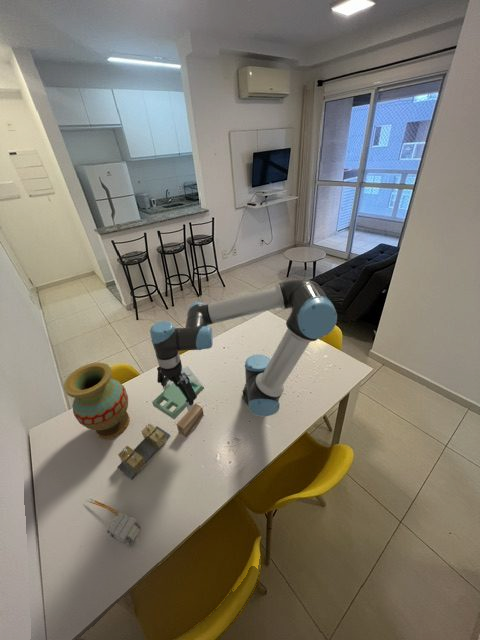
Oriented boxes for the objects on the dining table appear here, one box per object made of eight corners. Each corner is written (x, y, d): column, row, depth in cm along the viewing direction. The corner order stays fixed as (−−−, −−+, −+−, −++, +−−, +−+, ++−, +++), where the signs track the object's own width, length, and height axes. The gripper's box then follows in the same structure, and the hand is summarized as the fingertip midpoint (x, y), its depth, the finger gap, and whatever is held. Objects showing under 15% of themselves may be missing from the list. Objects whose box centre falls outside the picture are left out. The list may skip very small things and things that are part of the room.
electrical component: (81, 520, 88) (73, 513, 85) (95, 501, 92) (88, 494, 90) (132, 548, 78) (125, 541, 75) (145, 525, 82) (138, 518, 80)
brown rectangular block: (203, 415, 116) (202, 407, 112) (185, 437, 108) (183, 428, 104) (197, 411, 118) (195, 403, 114) (178, 432, 110) (176, 424, 106)
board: (202, 389, 104) (201, 385, 102) (174, 419, 93) (173, 415, 92) (182, 378, 109) (181, 374, 108) (153, 406, 98) (152, 401, 97)
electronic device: (161, 378, 133) (187, 365, 140) (162, 381, 135) (188, 368, 142) (175, 401, 121) (203, 386, 128) (176, 404, 122) (204, 389, 129)
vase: (145, 411, 119) (126, 364, 102) (116, 452, 104) (87, 405, 86) (111, 401, 125) (88, 355, 107) (78, 438, 109) (45, 391, 92)
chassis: (171, 436, 108) (167, 425, 104) (132, 480, 94) (126, 470, 90) (156, 426, 112) (152, 415, 108) (117, 467, 99) (110, 456, 94)
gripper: (202, 367, 87) (208, 408, 100) (154, 344, 98) (165, 383, 110) (187, 382, 82) (196, 423, 95) (138, 356, 93) (152, 396, 105)
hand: (179, 402), depth 102 cm, fingers closed on board, 11 cm apart
